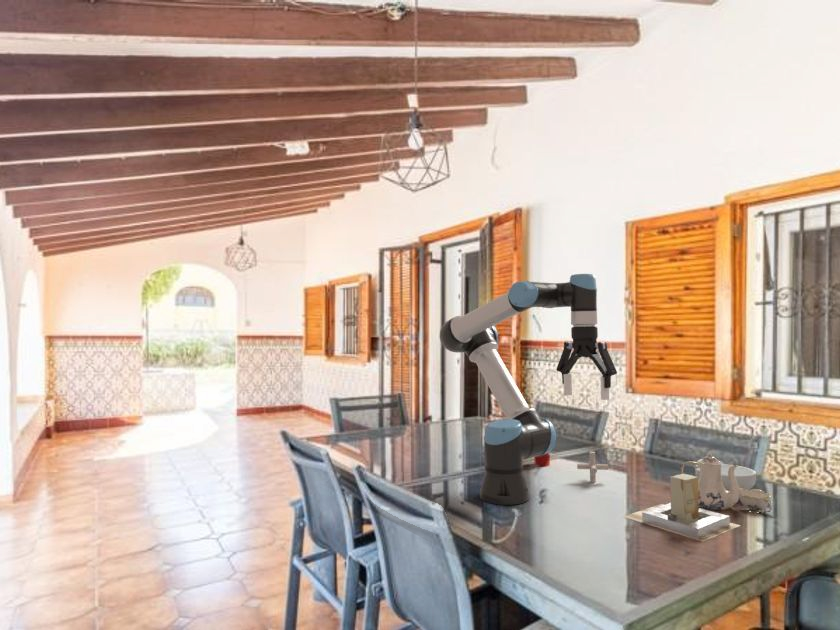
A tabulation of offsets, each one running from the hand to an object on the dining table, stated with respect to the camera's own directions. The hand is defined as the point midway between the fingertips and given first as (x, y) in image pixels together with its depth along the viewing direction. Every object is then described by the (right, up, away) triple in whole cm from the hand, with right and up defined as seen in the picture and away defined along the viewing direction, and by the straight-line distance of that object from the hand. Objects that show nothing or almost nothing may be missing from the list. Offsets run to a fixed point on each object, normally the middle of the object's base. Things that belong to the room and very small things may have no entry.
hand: (585, 397), depth 163 cm
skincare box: (+20, -30, -20) cm, 41 cm away
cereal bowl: (+47, -32, +10) cm, 58 cm away
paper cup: (-2, -33, +48) cm, 58 cm away
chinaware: (+37, -31, -4) cm, 48 cm away
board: (+19, -31, -18) cm, 41 cm away
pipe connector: (+9, -32, +23) cm, 41 cm away
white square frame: (+20, -30, -20) cm, 41 cm away
